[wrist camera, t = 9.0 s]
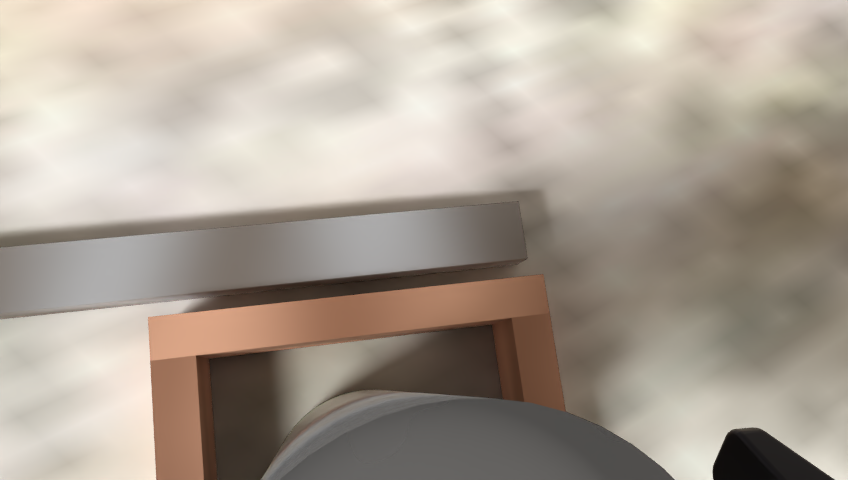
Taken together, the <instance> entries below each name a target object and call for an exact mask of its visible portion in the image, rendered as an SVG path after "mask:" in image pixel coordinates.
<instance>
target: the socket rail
mask: <svg viewBox="0 0 848 480" xmlns="http://www.w3.org/2000/svg"><path fill="white" fill-rule="evenodd" d="M526 259H527V251H526V245H525V239H524V232H523V226H522V220H521V214H520V207H519V201H517V202H505V203H494V204H483V205H472V206H460V207H449V208H438V209H427V210H416V211H404V212H393V213H382V214H371V215H359V216H348V217H337V218H326V219H315V220H303V221H292V222H281V223H270V224H258V225H247V226H236V227H225V228H214V229H202V230H191V231H180V232H169V233H157V234H146V235H135V236H124V237H112V238H101V239H90V240H79V241H68V242H56V243H45V244H34V245H23V246H11V247H0V319H7V318H16V317H26V316H35V315H45V314H54V313H64V312H73V311H83V310H92V309H101V308H111V307H120V306H130V305H139V304H149V303H158V302H168V301H177V300H187V299H196V298H206V297H215V296H224V295H234V294H243V293H253V292H262V291H272V290H281V289H291V288H300V287H310V286H319V285H329V284H338V283H347V282H357V281H366V280H376V279H385V278H395V277H404V276H414V275H423V274H433V273H442V272H452V271H461V270H470V269H480V268H489V267H499V266H508V265H517V264H519V263H521V262H522V261H524V260H526ZM148 325H149V345H150V364H151V383H152V403H153V422H154V441H155V460H156V480H217V466H216V452H215V437H214V422H213V408H212V393H211V378H210V363H209V359H211V358H219V357H227V356H236V355H244V354H252V353H261V352H269V351H277V350H285V349H294V348H302V347H310V346H319V345H327V344H335V343H343V342H352V341H360V340H368V339H377V338H385V337H393V336H401V335H410V334H418V333H426V332H435V331H443V330H451V329H459V328H468V327H476V326H484V325H492V329H493V335H494V342H495V349H496V356H497V363H498V370H499V376H500V383H501V390H502V397H503V399H504V400H512V401H521V402H529V403H534V404H538V405H542V406H545V407H549V408H553V409H557V410H561V411H565V405H564V399H563V392H562V386H561V380H560V374H559V368H558V362H557V356H556V349H555V343H554V337H553V331H552V325H551V319H550V312H549V306H548V300H547V294H546V288H545V282H544V276H543V274H540V275H531V276H522V277H513V278H504V279H494V280H485V281H476V282H467V283H458V284H448V285H439V286H430V287H421V288H412V289H403V290H393V291H384V292H375V293H366V294H357V295H348V296H338V297H329V298H320V299H311V300H302V301H292V302H283V303H274V304H265V305H256V306H247V307H237V308H228V309H219V310H210V311H201V312H192V313H182V314H173V315H164V316H155V317H148ZM565 412H566V411H565Z"/></svg>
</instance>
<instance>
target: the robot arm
mask: <svg viewBox="0 0 848 480" xmlns="http://www.w3.org/2000/svg"><path fill="white" fill-rule="evenodd" d="M713 479H714V480H834V479H833V478H831V477H830V476H829V475H827V474H826V473H824V472H823V471H821V470H820V469H818V468H817V467H816V466H814V465H813V464H811V463H810V462H808V461H807V460H806V459H804V458H803V457H801V456H800V455H798V454H797V453H795V452H794V451H793V450H791V449H790V448H788V447H787V446H785V445H784V444H782V443H781V442H780V441H778V440H777V439H775V438H774V437H772V436H771V435H770V434H768V433H767V432H765V431H763V430H761V429H759V428H742V429H733V430H731V431H730V432H729V433H728V434H727V435H726V437H725V440H724V442H723V444H722V446H721V449H720V451H719V453H718V456H717V458H716V460H715V463H714V465H713Z"/></svg>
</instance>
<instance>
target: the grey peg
mask: <svg viewBox="0 0 848 480" xmlns="http://www.w3.org/2000/svg"><path fill="white" fill-rule="evenodd" d="M261 480H674V479H673V478H672V477H671V476H670V475H669V474H668V473H667V472H666V471H665V470H664V469H663V468H662V467H661V466H660V465H658V464H657V463H656V462H655V461H653V460H652V459H651V458H649V457H648V456H647V455H645V454H644V453H643V452H642V451H640V450H639V449H638V448H636V447H635V446H634V445H632V444H631V443H629V442H627V441H625V440H624V439H622V438H620V437H619V436H617V435H615V434H613V433H612V432H610V431H608V430H606V429H605V428H603V427H601V426H599V425H597V424H594V423H592V422H589V421H587V420H585V419H582V418H580V417H577V416H575V415H572V414H570V413H568V412H565V411H561V410H557V409H553V408H549V407H545V406H542V405H538V404H534V403H529V402H521V401H512V400H504V399H495V398H483V397H469V396H456V395H442V394H429V393H416V392H402V391H389V390H360V391H353V392H349V393H346V394H342V395H339V396H337V397H334V398H332V399H330V400H327V401H326V402H324V403H322V404H321V405H319V406H317V407H316V408H314V409H313V410H312V411H311V412H309V413H308V414H307V415H305V416H304V417H303V418H302V419H301V420H300V421H299V422H298V423H297V424H296V425H295V427H294V428H293V429H292V431H291V432H290V433H289V435H288V436H287V437H286V439H285V441H284V442H283V444H282V446H281V447H280V449H279V451H278V452H277V454H276V456H275V457H274V459H273V461H272V462H271V464H270V465H269V467H268V469H267V470H266V472H265V474H264V475H263V477H262V479H261Z"/></svg>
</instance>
